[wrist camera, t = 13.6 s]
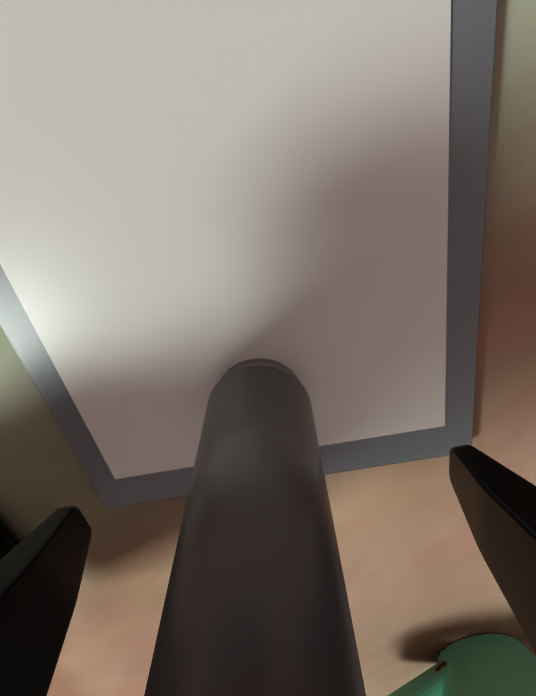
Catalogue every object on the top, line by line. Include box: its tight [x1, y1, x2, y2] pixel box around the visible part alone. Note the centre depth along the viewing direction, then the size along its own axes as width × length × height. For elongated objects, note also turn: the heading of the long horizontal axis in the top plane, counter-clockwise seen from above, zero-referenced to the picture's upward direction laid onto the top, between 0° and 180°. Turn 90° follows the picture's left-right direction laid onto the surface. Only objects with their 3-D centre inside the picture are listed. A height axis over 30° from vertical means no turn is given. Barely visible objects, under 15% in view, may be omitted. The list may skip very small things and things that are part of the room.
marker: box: [144, 359, 366, 696], centre depth 8 cm, size 3×3×10 cm
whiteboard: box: [0, 0, 497, 508], centre depth 10 cm, size 14×18×2 cm
